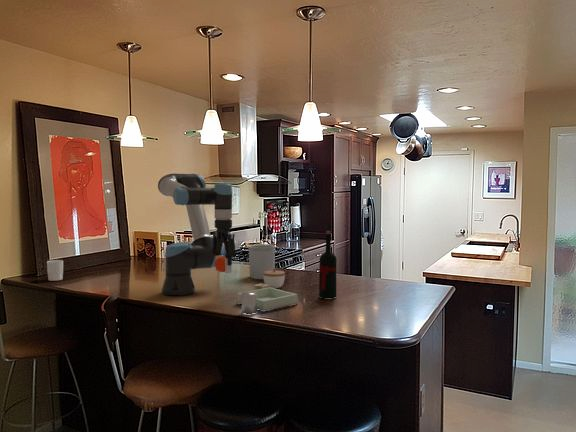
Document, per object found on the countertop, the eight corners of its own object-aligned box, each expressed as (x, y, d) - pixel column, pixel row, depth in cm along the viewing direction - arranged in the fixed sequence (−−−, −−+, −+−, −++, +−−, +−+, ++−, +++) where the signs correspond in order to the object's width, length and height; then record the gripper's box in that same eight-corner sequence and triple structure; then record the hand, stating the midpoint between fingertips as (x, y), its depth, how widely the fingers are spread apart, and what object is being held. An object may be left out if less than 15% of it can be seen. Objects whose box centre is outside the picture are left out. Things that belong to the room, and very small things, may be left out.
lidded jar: (265, 290, 218) (265, 271, 217) (261, 286, 228) (261, 267, 228) (287, 289, 221) (287, 270, 220) (281, 284, 231) (281, 266, 231)
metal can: (238, 313, 179) (238, 293, 178) (250, 310, 183) (250, 290, 182) (247, 316, 174) (247, 295, 174) (260, 313, 178) (260, 293, 178)
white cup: (66, 278, 245) (66, 260, 245) (58, 281, 238) (57, 262, 237) (53, 278, 246) (52, 259, 246) (43, 280, 238) (43, 262, 238)
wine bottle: (314, 299, 201) (314, 232, 199) (323, 294, 210) (323, 230, 208) (330, 301, 197) (331, 233, 195) (339, 296, 206) (339, 231, 204)
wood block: (253, 296, 207) (253, 285, 207) (260, 294, 211) (260, 283, 211) (262, 297, 204) (262, 286, 204) (269, 295, 209) (269, 284, 208)
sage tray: (237, 303, 193) (237, 293, 193) (270, 297, 205) (270, 287, 204) (263, 312, 179) (263, 301, 179) (297, 304, 191) (297, 294, 191)
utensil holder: (244, 279, 246) (244, 246, 245) (253, 273, 260) (253, 243, 259) (270, 280, 242) (270, 247, 241) (278, 275, 257) (278, 244, 255)
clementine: (215, 270, 202) (215, 254, 202) (231, 270, 203) (231, 254, 202) (214, 273, 194) (214, 257, 194) (230, 273, 195) (230, 257, 194)
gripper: (243, 220, 192) (243, 273, 193) (218, 217, 207) (218, 267, 208) (229, 220, 187) (229, 275, 188) (203, 218, 202) (204, 269, 203)
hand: (223, 271), depth 198 cm, fingers closed on clementine, 7 cm apart
